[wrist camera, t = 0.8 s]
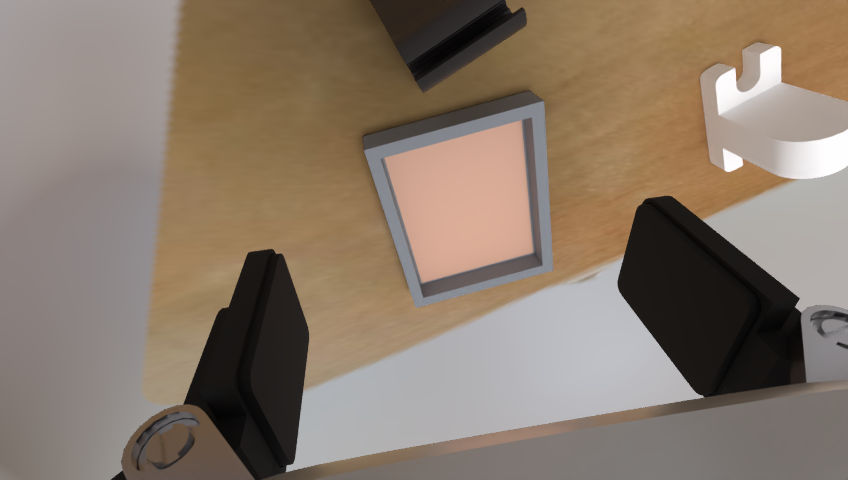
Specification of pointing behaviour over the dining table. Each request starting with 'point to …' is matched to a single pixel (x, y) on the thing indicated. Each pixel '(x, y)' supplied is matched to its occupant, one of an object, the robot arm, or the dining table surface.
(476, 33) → the phone stand
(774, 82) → the cable organizer
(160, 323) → the dining table surface
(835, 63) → the dining table surface
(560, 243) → the dining table surface
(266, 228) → the dining table surface
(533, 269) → the grey tray
